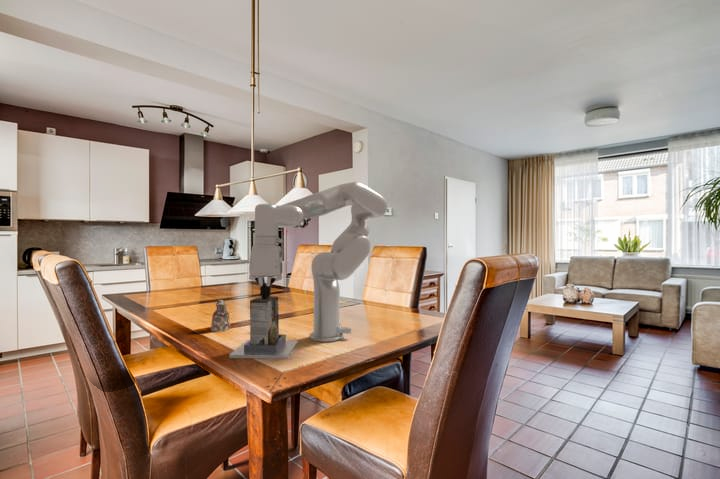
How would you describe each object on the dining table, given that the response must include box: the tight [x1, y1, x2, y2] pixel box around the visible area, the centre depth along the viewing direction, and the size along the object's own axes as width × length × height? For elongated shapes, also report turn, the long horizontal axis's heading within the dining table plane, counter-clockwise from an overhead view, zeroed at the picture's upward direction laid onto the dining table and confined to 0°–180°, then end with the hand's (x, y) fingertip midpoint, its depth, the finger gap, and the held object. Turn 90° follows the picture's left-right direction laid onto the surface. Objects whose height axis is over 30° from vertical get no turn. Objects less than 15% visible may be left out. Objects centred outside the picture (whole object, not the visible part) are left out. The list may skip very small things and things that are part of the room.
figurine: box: [210, 298, 231, 333], centre depth 143 cm, size 7×7×12 cm
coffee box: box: [249, 295, 280, 345], centre depth 117 cm, size 9×6×16 cm
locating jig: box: [228, 333, 299, 360], centre depth 117 cm, size 18×16×4 cm
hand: (265, 297), depth 117 cm, fingers closed
